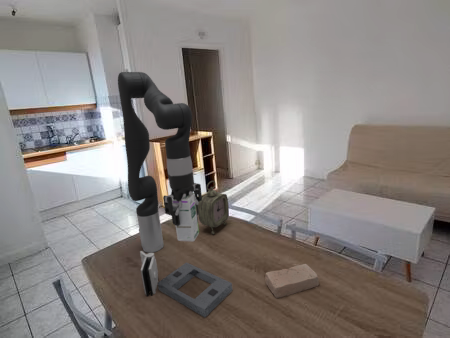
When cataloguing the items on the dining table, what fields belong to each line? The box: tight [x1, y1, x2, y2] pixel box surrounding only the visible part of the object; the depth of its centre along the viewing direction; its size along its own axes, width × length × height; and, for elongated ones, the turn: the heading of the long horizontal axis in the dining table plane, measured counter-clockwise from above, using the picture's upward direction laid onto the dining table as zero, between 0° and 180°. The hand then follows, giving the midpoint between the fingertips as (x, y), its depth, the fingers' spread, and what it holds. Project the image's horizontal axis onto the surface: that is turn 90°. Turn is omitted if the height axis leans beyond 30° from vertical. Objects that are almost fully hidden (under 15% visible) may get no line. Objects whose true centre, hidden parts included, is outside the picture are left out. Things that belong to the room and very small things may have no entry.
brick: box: [264, 263, 320, 299], centre depth 93 cm, size 17×8×5 cm, turn 107°
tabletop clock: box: [197, 180, 230, 235], centre depth 133 cm, size 14×9×25 cm, turn 147°
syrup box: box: [172, 192, 200, 242], centre depth 87 cm, size 6×6×14 cm
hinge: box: [139, 250, 159, 297], centre depth 98 cm, size 14×5×10 cm, turn 18°
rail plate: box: [157, 262, 233, 318], centre depth 93 cm, size 22×14×3 cm, turn 52°
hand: (186, 219), depth 87 cm, fingers closed on syrup box, 7 cm apart
